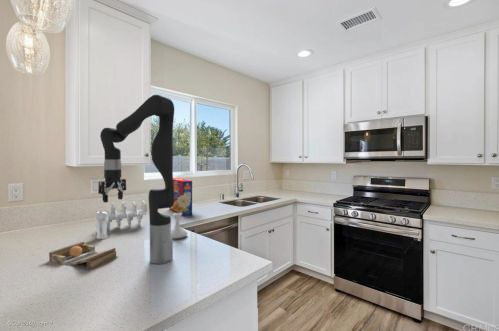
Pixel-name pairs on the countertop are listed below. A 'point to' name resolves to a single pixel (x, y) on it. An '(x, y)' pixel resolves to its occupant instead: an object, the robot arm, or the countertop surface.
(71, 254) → the ball
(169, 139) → the robot arm
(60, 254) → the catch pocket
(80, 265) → the mat
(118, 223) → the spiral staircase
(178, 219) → the flower in vase
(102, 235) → the beer glass
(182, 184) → the cereal box
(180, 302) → the countertop surface
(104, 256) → the ramp
